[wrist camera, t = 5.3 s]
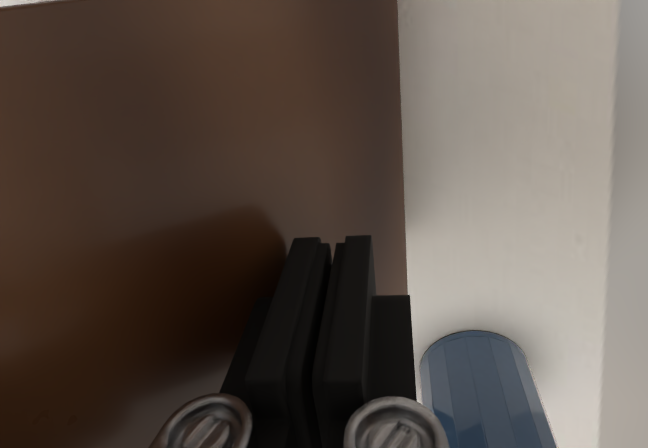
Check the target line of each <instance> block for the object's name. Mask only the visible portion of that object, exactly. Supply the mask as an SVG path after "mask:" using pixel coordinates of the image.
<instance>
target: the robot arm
mask: <svg viewBox="0 0 648 448" xmlns="http://www.w3.org/2000/svg"><path fill="white" fill-rule="evenodd" d="M148 448H450V446H449V443H448V440H447V436H446V433H445V431H444V429H443V427H442V425H441V422H440V420H439V419H438V418H437V417H436V416H435V415H434V414H433V412H432V411H431V410H430V409H429V408H427V407H425V406H424V405H422V404H420V403H419V402H417V399H416V384H415V369H414V354H413V338H412V323H411V308H410V295H376V283H375V270H374V257H373V243H372V236H371V235H356V236H346V238H345V243H336V247H335V252H334V257H333V262H332V254H331V247H330V244H329V243H322V242H321V239H320V237H302V238H294V239H293V242H292V245H291V247H290V250H289V253H288V256H287V259H286V262H285V265H284V268H283V270H282V273H281V276H280V279H279V282H278V285H277V288H276V291H275V293H274V296H273V297H260V298H258V299H257V300H256V302H255V304H254V306H253V309H252V311H251V314H250V316H249V319H248V321H247V324H246V326H245V329H244V331H243V334H242V336H241V339H240V341H239V344H238V346H237V349H236V352H235V354H234V357H233V359H232V362H231V364H230V367H229V369H228V372H227V374H226V377H225V379H224V382H223V384H222V387H221V389H220V392H219V393H211V394H207V395H203V396H199V397H197V398H195V399H193V400H191V401H189V402H186V403H185V404H184V405H182V406H181V407H180V408H178V409H177V410H176V411H174V412H173V414H172V415H171V416H170V417H169V418H168V419H167V421H166V422H165V423H164V424H163V426H162V427H161V429H160V431H159V432H158V434H157V435H156V437H155V438H154V440H153V441H152V443H151V444H150V446H149V447H148Z"/></svg>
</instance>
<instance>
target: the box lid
mask: <svg viewBox="0 0 648 448" xmlns="http://www.w3.org/2000/svg"><path fill="white" fill-rule="evenodd" d="M356 235H371V236H372V243H373V257H374V270H375V283H376V295H408V290H407V262H406V233H405V205H404V177H403V149H402V120H401V92H400V64H399V35H398V7H397V0H55V1H47V2H38V3H30V4H21V5H12V6H4V7H0V448H148V447H149V446H150V444H151V443H152V441H153V440H154V438H155V437H156V435H157V434H158V432H159V431H160V429H161V427H162V426H163V424H164V423H165V422H166V421H167V419H168V418H169V417H170V416H171V415H172V414H173V412H174V411H176V410H177V409H178V408H180V407H181V406H182V405H184V404H185V403H186V402H189V401H191V400H193V399H195V398H197V397H199V396H203V395H207V394H211V393H219V392H220V389H221V387H222V384H223V382H224V379H225V377H226V374H227V372H228V369H229V367H230V364H231V362H232V359H233V357H234V354H235V352H236V349H237V346H238V344H239V341H240V339H241V336H242V334H243V331H244V329H245V326H246V324H247V321H248V319H249V316H250V314H251V311H252V309H253V306H254V304H255V302H256V300H257V299H258V298H260V297H273V296H274V293H275V291H276V288H277V285H278V282H279V279H280V276H281V273H282V270H283V268H284V265H285V262H286V259H287V256H288V253H289V250H290V247H291V245H292V242H293V239H294V238H302V237H320V239H321V242H322V243H329V244H330V247H331V254H332V262H333V257H334V252H335V247H336V243H345V238H346V236H356Z"/></svg>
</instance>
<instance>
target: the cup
mask: <svg viewBox="0 0 648 448" xmlns="http://www.w3.org/2000/svg"><path fill="white" fill-rule="evenodd" d="M420 388H421V401H422V405H424V406H425V407H427V408H429V409H430V410H431V411H432V412H433V414H434V415H435V416H436V417H437V418H438V419H439V420H440V422H441V425H442V427H443V429H444V431H445V433H446V436H447V440H448V443H449V446H450V448H559V447H558V444H557V441H556V439H555V436H554V433H553V430H552V427H551V424H550V422H549V419H548V416H547V413H546V410H545V407H544V405H543V402H542V399H541V396H540V393H539V391H538V388H537V385H536V382H535V379H534V376H533V374H532V371H531V368H530V366H529V364H528V361H527V359H526V356H525V354H524V353H523V351H522V350H521V349H520V348H519V347H518V346H517V345H516V344H515V343H514V342H512V341H511V340H509V339H507V338H505V337H503V336H501V335H498V334H495V333H491V332H485V331H465V332H459V333H455V334H452V335H449V336H446V337H444V338H442V339H440V340H439V341H437V342H436V343H434V344H433V345H432V346H431V347H430V348H429V349H428V350H427V351H426V352H425V354H424V355H423V358H422V360H421V363H420Z"/></svg>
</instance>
